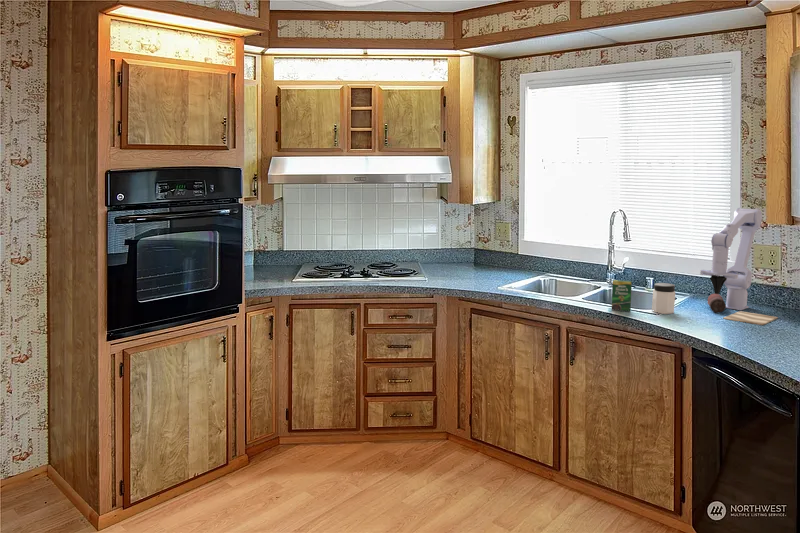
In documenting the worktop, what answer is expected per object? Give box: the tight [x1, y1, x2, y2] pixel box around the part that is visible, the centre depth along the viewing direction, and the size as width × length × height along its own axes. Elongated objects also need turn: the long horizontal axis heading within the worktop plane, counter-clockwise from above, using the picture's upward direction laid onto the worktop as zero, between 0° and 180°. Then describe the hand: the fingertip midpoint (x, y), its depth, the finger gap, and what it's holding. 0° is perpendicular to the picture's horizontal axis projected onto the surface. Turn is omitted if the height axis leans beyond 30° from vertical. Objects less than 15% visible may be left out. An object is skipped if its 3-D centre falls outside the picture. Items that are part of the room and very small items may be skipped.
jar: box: [651, 282, 676, 315], centre depth 285 cm, size 9×8×12 cm
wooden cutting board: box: [723, 310, 779, 326], centre depth 276 cm, size 18×15×1 cm
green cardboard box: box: [611, 279, 633, 313], centre depth 288 cm, size 8×3×13 cm, turn 66°
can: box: [707, 292, 727, 314], centre depth 291 cm, size 6×6×14 cm
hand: (717, 293), depth 282 cm, fingers closed
